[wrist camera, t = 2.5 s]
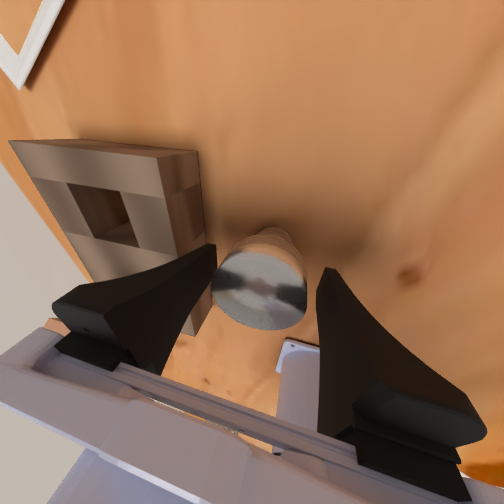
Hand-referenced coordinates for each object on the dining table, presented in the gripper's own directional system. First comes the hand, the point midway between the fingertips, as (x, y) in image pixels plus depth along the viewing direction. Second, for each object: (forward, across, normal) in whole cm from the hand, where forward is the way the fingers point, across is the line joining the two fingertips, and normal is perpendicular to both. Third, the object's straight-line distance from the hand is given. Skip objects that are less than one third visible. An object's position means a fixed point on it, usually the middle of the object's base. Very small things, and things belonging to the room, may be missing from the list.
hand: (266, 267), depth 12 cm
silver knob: (+3, 0, 0) cm, 3 cm away
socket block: (+3, +11, +2) cm, 12 cm away
